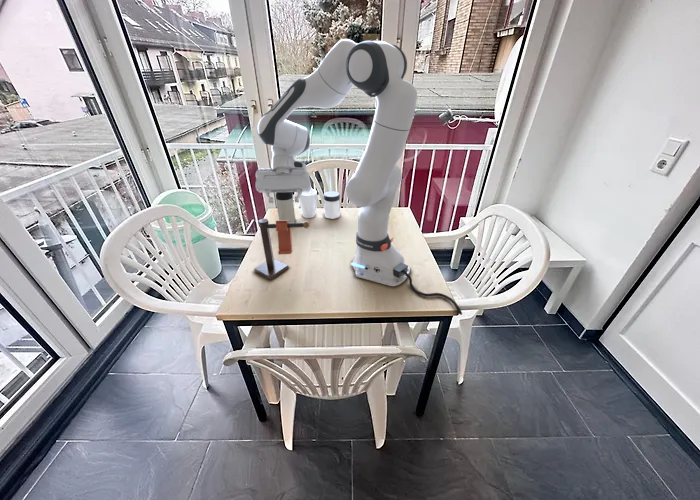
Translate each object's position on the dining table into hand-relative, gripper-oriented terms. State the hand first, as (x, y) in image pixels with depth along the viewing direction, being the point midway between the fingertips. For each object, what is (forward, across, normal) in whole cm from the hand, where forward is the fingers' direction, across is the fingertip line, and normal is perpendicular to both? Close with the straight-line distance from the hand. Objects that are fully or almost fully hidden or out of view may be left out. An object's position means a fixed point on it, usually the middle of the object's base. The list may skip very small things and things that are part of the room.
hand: (284, 202), depth 105 cm
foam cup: (-10, +7, +44) cm, 45 cm away
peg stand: (+23, -2, +10) cm, 26 cm away
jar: (-9, +19, +43) cm, 48 cm away
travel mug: (-5, -4, +39) cm, 40 cm away
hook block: (+19, 0, +1) cm, 19 cm away
